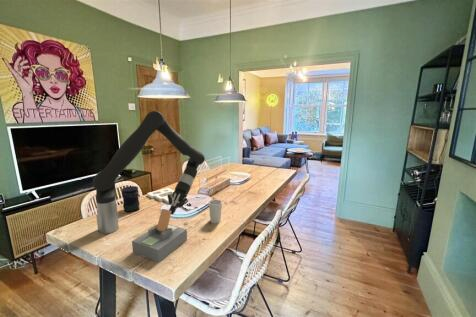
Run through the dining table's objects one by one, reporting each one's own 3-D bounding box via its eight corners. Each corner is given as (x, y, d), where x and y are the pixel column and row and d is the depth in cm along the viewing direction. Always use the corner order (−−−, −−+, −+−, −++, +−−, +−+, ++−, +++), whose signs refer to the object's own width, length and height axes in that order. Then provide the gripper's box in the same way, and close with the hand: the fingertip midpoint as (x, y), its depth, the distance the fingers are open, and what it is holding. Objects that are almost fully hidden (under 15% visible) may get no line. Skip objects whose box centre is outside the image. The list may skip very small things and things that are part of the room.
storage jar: (120, 210, 152) (118, 189, 149) (133, 205, 161) (131, 185, 158) (130, 214, 148) (128, 192, 145) (143, 208, 156) (141, 187, 153)
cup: (222, 217, 144) (222, 199, 142) (221, 223, 137) (221, 204, 134) (209, 217, 144) (209, 199, 142) (208, 223, 136) (208, 204, 134)
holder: (199, 207, 160) (199, 203, 160) (176, 215, 148) (175, 211, 147) (168, 191, 192) (168, 187, 191) (147, 196, 180) (147, 193, 179)
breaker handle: (158, 232, 114) (164, 208, 117) (166, 234, 112) (171, 210, 114) (155, 232, 113) (161, 208, 115) (163, 235, 110) (169, 210, 113)
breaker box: (163, 232, 126) (162, 217, 124) (187, 239, 119) (186, 223, 117) (132, 252, 108) (131, 235, 106) (158, 262, 101) (157, 243, 100)
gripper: (171, 179, 126) (156, 208, 117) (191, 182, 120) (177, 213, 112) (178, 185, 132) (164, 214, 123) (197, 189, 126) (184, 219, 118)
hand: (170, 213), depth 118 cm, fingers closed
